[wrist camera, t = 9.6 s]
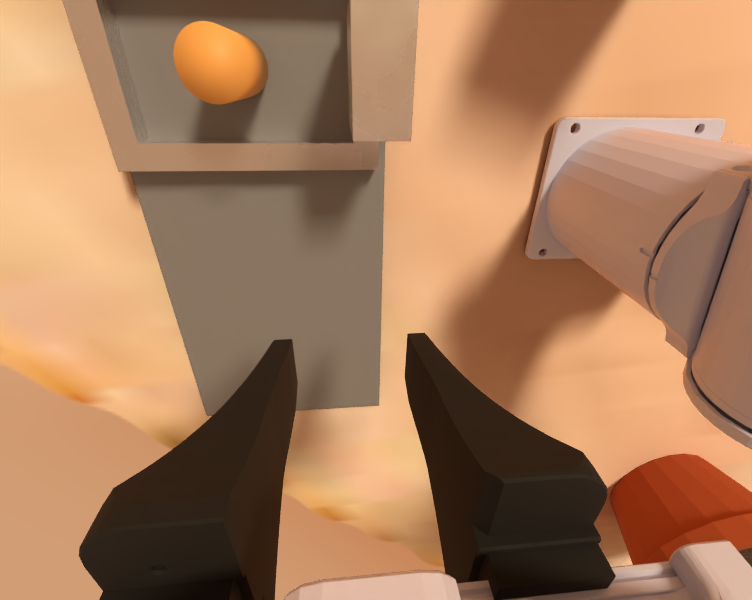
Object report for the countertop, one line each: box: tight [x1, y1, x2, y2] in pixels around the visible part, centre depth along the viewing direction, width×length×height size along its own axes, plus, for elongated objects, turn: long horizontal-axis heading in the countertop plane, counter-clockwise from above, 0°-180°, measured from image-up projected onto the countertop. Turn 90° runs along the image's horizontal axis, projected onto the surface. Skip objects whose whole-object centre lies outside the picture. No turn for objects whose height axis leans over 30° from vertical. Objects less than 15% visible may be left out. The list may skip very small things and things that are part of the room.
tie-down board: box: [111, 0, 385, 416], centre depth 21 cm, size 12×27×1 cm, turn 179°
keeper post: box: [173, 21, 268, 104], centre depth 15 cm, size 2×2×4 cm
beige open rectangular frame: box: [62, 0, 419, 172], centre depth 14 cm, size 13×8×6 cm, turn 89°
